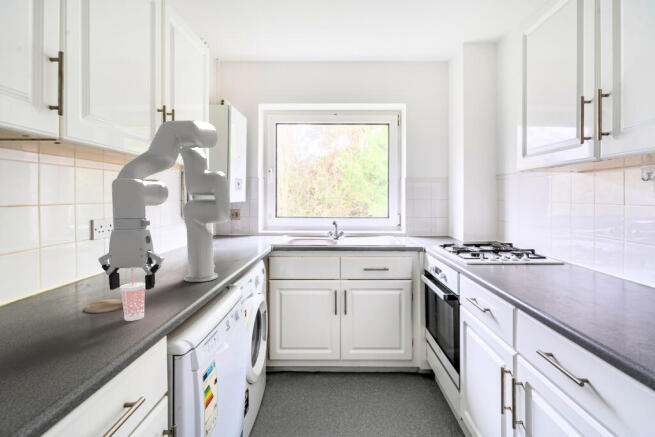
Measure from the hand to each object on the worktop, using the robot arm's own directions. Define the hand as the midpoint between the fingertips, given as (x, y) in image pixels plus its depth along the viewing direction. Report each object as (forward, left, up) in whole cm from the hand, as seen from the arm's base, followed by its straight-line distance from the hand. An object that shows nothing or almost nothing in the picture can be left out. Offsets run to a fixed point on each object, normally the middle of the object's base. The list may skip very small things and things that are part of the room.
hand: (132, 288), depth 91 cm
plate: (-9, -14, -8) cm, 19 cm away
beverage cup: (0, 0, -8) cm, 8 cm away
